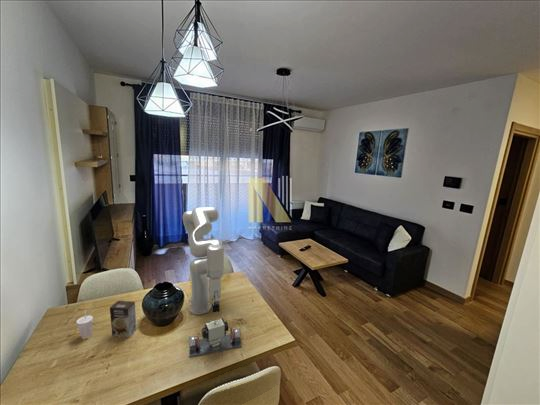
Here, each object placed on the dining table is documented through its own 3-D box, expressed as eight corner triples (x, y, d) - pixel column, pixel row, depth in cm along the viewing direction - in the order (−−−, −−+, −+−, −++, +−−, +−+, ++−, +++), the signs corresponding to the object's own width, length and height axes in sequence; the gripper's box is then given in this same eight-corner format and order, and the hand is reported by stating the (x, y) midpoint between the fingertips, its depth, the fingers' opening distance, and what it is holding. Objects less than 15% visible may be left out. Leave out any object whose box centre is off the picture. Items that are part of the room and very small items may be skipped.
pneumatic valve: (228, 343, 116) (228, 321, 114) (204, 352, 110) (204, 329, 108) (224, 335, 121) (224, 314, 119) (201, 343, 115) (201, 321, 113)
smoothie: (97, 334, 119) (95, 309, 117) (83, 343, 114) (80, 317, 111) (89, 330, 122) (87, 305, 119) (75, 338, 116) (72, 313, 114)
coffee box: (111, 337, 118) (108, 307, 115) (119, 328, 125) (117, 300, 122) (129, 338, 118) (127, 308, 115) (137, 329, 124) (135, 300, 121)
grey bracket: (189, 357, 108) (188, 343, 107) (189, 342, 117) (189, 329, 115) (241, 347, 115) (241, 333, 114) (238, 334, 124) (238, 321, 122)
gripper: (206, 264, 116) (206, 295, 119) (207, 282, 100) (207, 318, 103) (221, 262, 118) (221, 294, 122) (225, 280, 102) (225, 316, 105)
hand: (215, 305), depth 112 cm, fingers open, 9 cm apart
